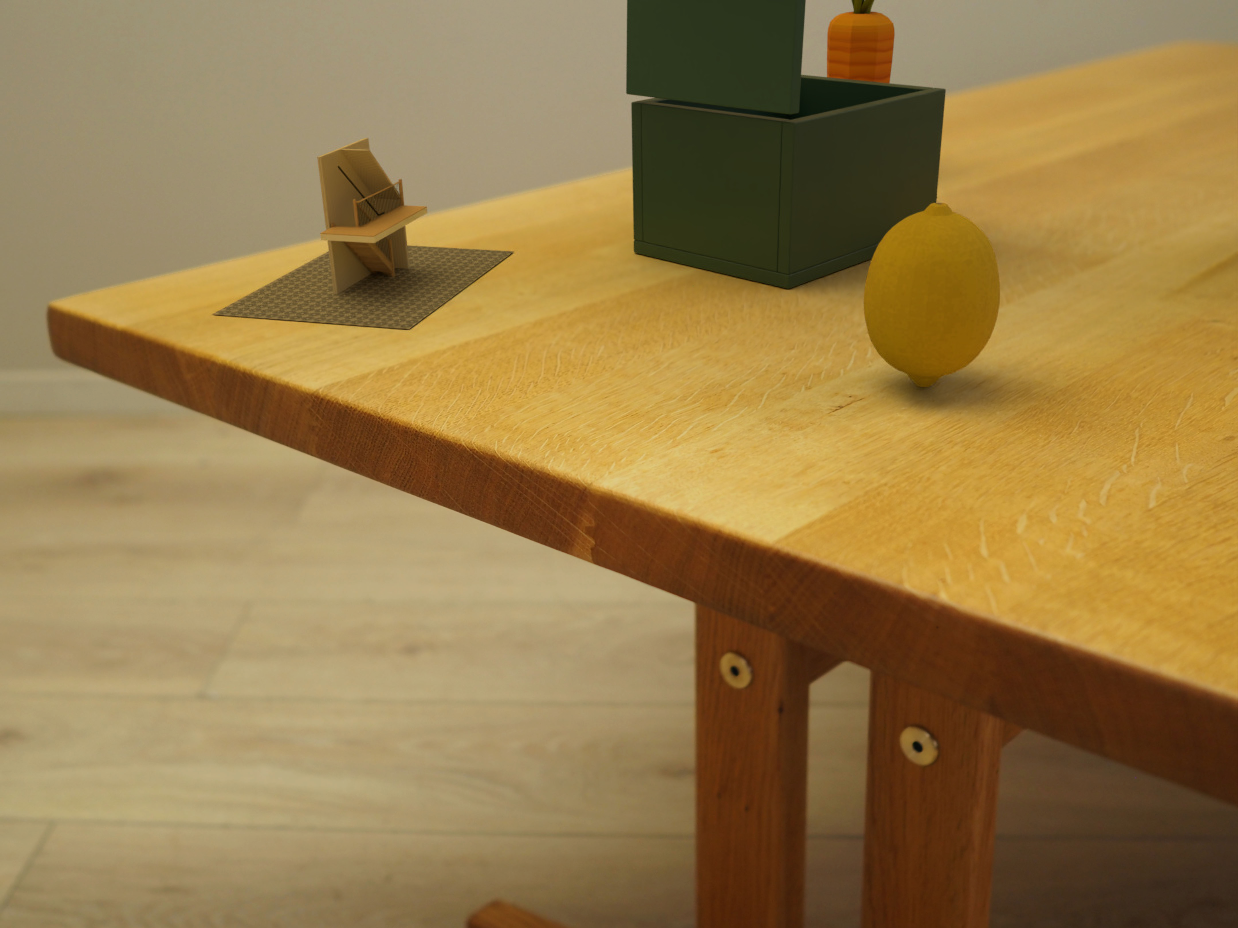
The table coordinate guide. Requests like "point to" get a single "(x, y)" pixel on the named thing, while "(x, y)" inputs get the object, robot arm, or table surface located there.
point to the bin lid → (717, 52)
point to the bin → (784, 178)
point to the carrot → (860, 44)
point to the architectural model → (366, 256)
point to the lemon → (932, 294)
